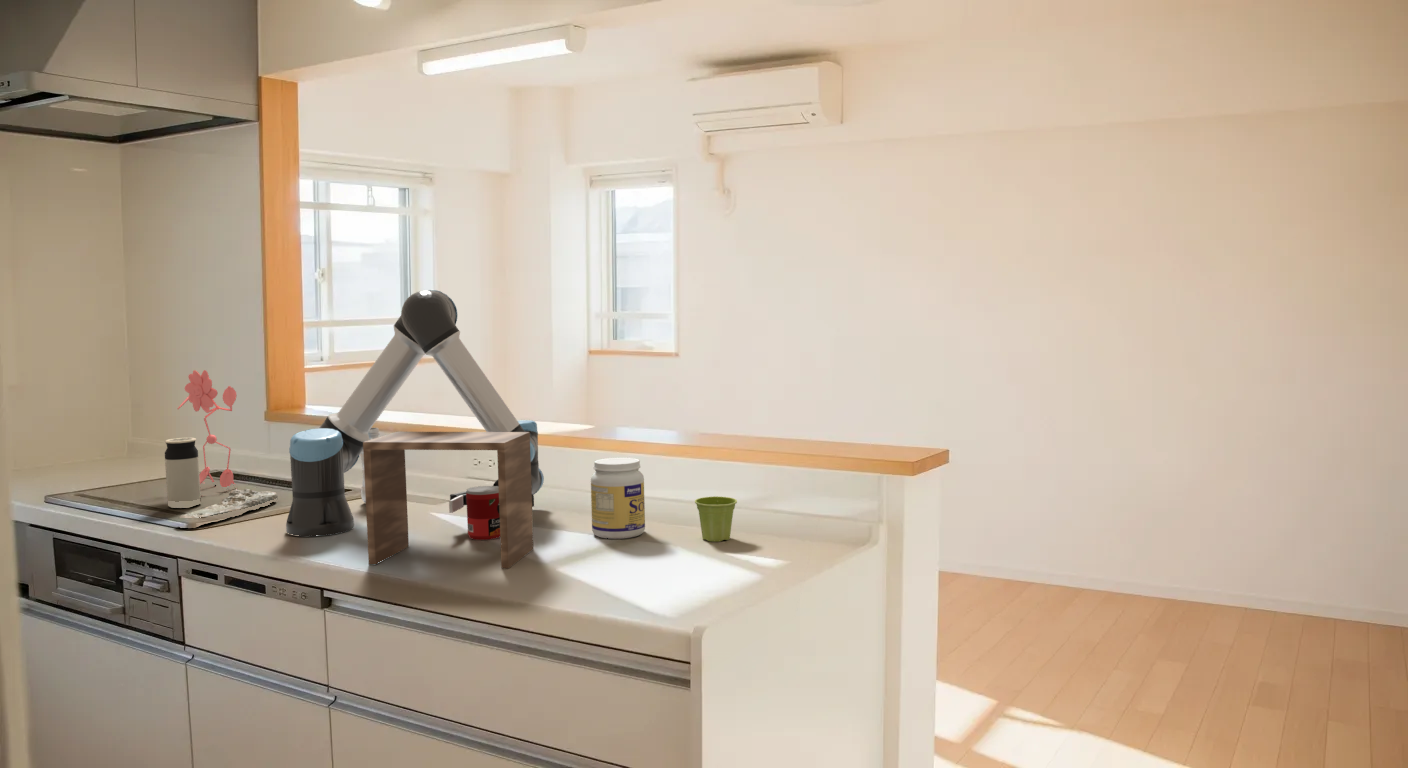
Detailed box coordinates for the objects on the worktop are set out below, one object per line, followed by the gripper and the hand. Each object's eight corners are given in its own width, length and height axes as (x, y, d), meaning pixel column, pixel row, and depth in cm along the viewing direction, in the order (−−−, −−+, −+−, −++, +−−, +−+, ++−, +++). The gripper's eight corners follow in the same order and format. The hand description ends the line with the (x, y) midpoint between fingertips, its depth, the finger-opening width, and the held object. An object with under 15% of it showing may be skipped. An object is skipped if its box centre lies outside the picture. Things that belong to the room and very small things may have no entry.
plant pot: (739, 534, 244) (738, 496, 243) (736, 544, 235) (735, 504, 234) (697, 534, 245) (697, 496, 244) (693, 543, 236) (692, 504, 235)
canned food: (495, 540, 242) (493, 492, 241) (462, 539, 243) (460, 491, 242) (508, 533, 249) (506, 486, 248) (475, 532, 251) (474, 485, 250)
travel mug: (207, 505, 289) (203, 438, 287) (179, 510, 282) (175, 442, 281) (189, 502, 293) (185, 436, 292) (161, 507, 287) (157, 440, 285)
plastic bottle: (359, 502, 289) (356, 428, 287) (385, 499, 292) (382, 426, 290) (363, 506, 283) (359, 430, 282) (389, 503, 286) (386, 429, 284)
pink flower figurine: (199, 483, 323) (190, 366, 319) (258, 490, 310) (249, 368, 306) (152, 493, 309) (142, 371, 305) (211, 500, 297) (201, 374, 293)
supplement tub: (633, 541, 239) (631, 466, 237) (582, 538, 243) (580, 464, 241) (653, 529, 250) (651, 457, 249) (605, 526, 254) (603, 455, 253)
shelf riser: (368, 565, 222) (363, 442, 220) (402, 546, 238) (397, 431, 236) (508, 568, 217) (504, 442, 215) (533, 549, 233) (529, 432, 231)
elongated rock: (164, 535, 261) (200, 538, 259) (163, 513, 260) (199, 517, 258) (254, 499, 295) (287, 502, 292) (254, 480, 294) (286, 483, 292)
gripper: (561, 505, 262) (533, 524, 241) (463, 504, 266) (427, 522, 245) (560, 474, 261) (532, 491, 240) (462, 473, 265) (426, 490, 244)
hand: (479, 507), depth 243 cm, fingers open, 13 cm apart
